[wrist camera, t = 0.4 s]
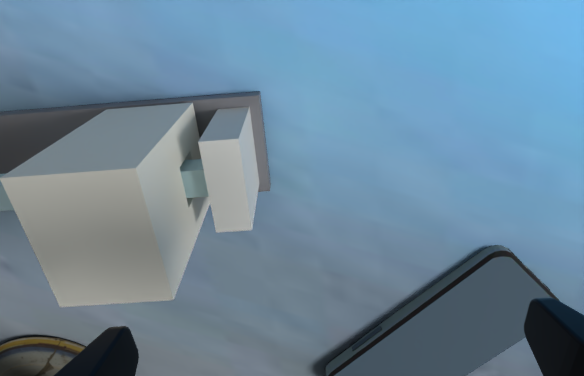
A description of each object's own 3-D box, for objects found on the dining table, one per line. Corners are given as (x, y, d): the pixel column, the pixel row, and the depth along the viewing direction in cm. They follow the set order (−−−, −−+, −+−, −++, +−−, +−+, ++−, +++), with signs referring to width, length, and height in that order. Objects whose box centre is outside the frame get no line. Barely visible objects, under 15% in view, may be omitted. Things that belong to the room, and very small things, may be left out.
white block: (211, 198, 20) (173, 300, 13) (135, 204, 20) (60, 307, 13) (192, 102, 17) (135, 168, 11) (106, 109, 18) (-1, 178, 11)
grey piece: (270, 184, 21) (265, 240, 16) (-53, 207, 21) (-151, 268, 17) (260, 91, 18) (250, 125, 14) (-103, 119, 19) (-232, 162, 14)
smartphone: (572, 312, 24) (392, 427, 29) (554, 294, 26) (386, 406, 30) (504, 245, 22) (319, 382, 26) (490, 229, 23) (317, 362, 28)
